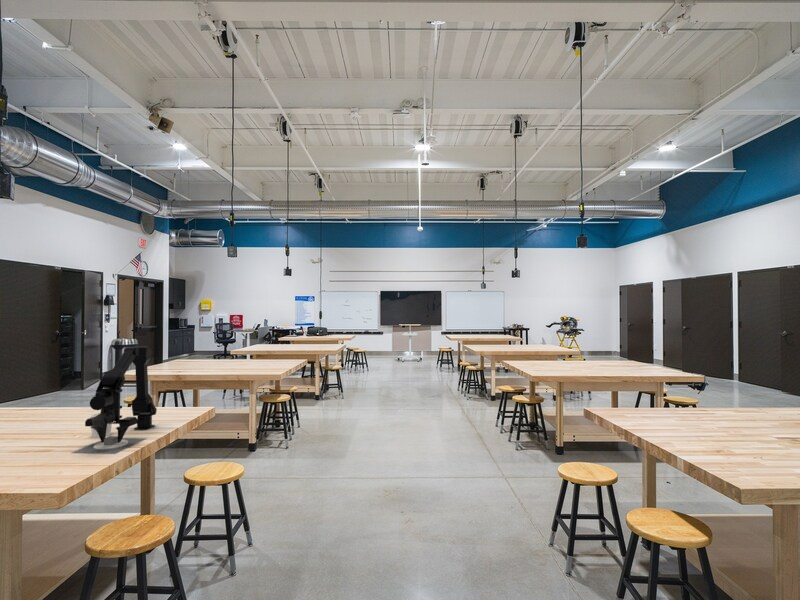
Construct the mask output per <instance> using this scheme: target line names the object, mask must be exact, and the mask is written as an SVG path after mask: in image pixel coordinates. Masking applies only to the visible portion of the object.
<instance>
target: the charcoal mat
mask: <svg viewBox="0 0 800 600" xmlns="http://www.w3.org/2000/svg"><path fill="white" fill-rule="evenodd" d="M122 440H127V441H128V444H127V445H125V446H122V447H119V448H115V449H108V450H96V449H94V448H93V446H94V445H95V444H98V443H100V442H101V440H98V441H96V442H94V443H92V444H90V445H87V446H84V447H81V448H79V449H76V450H74V451H71V454H99V455H100V454H101V455H102V454H103V455H116V454H118V453H120V452H122V451H124V450H127V449H129V448H131V447H133V446H135V445H137V444H139V443H141V442H143V441H145V440H148V437H147V438H145V437H140V438H139V437H138V438H136V437H123V438H122Z"/></svg>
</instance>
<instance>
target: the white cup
mask: <svg viewBox="0 0 800 600" xmlns="http://www.w3.org/2000/svg"><path fill="white" fill-rule="evenodd" d="M98 414H100V412H97V413H94V414H91V416H90V418H92V417H95V416H97V415H98ZM112 425H113V424H107V430H106V437H105V438H107V437H109V436H112V435H111V434H112ZM91 427H92V426H90V428H91ZM91 437H92V438H93V439H100V437H99V435H98V433H97V431H96V430H95V429H93V428H91Z"/></svg>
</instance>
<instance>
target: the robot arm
mask: <svg viewBox="0 0 800 600" xmlns="http://www.w3.org/2000/svg"><path fill="white" fill-rule="evenodd" d="M152 354H153V350H152V348H150V347H149V346H148V345H147V346H146V345H145V346H139V345H138V346H127V347H125V348H124V350H123V353H122V354H121V356H120V358H119V359H118V360H117V362H116V363H115V365H113V368H112V369H110V370H108V371H106V373H105V374H104V375H102V377H101V379H100V381H99V382H98V386H97V388H96V391H95V395H94V396H93V397H92V398H91V399H90V401H89V406H90V408H91V409H92V410H94V411H100V412H99V413H100V414H98V415H97V416H95V417H92V418H91V417H90V418H87V419H86V420H85V422H84V427H90V428H91V429H92V428H93V429H95V430H96V431H97V433H98V435H99V437H100V438H99V439H100V440H99V441H101V442H104V439H105V438H107V437H106V430H107V424H112V425H119V426H117V427H115V429H116V430H117V436H118V443H120V442H121V440H122V438H124V436H125V434H126V432H127V431H128V429H129V427H131V426H134V425H136V426H135V427H134V428H133V429H134V430H149V429H151V428H153V427H155V425H156V424H152V423H153V416H155V415H157V411H158V410H157V407H156V405H155V404H154V401H153V398H152V396H151V395H150V393H149V375H148V373H149V372H148V363H149V362H150V360H151V359H152ZM132 364H133V365H134V366H135V386H136V387H135V390H136V394H135V395H136V396H135V397H134V399H133V400H132V401H131V405H132V406H131V411H132V416H126V417H124V418H123V415H120V414H121V409H122V408H123V405H121V392H123V389H122V387H123V386H124V384H125V381H126V373H127V371H128V369H130V366H131V365H132ZM91 426H92V427H91Z"/></svg>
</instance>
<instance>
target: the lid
mask: <svg viewBox="0 0 800 600" xmlns="http://www.w3.org/2000/svg"><path fill="white" fill-rule="evenodd" d="M127 444H128V441H127V440H121V442H120V443H118V435H115V436H114V435H110V436H107V437H105V439H104V442H100V443H98V444H95V445H94V446H93V448H94V449H96V450H108V449H115V448H119V447H122V446H125V445H127Z"/></svg>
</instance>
